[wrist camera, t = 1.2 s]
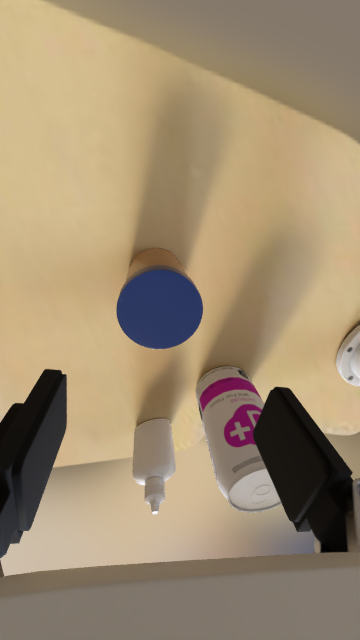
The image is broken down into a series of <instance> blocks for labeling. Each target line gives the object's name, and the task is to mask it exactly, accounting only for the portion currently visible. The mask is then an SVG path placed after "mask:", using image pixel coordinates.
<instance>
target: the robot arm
mask: <svg viewBox="0 0 360 640" xmlns="http://www.w3.org/2000/svg"><path fill="white" fill-rule="evenodd" d="M336 365H337V370H338V372H339V374H340V375H341V377H342V378H343V379H345V380H346V381H347V382H348V383H350V384H352V385H355V386H360V325H358V326H357V327H356V328H355V329H354V330H353V331H352V332H351V333H350V334H349V335H348V336H347V337H346V339H345V340H344V341H343V343H342V345H341V347H340V349H339V351H338V354H337V360H336ZM66 425H67V377H66V374H62V372H61V370H50V369H45V370H44V371H43V373H42V375H41V376H40V378H39V379H38V381H37V383H36V384H35V386H34V388H33V389H32V391H31V393H30V394H29V396H28V398H27V399H26V401H25V402H24V404H23V403H15V404H13V405H12V406H11V408H10V409H9V410H8V412H7V413H6V415H5V416H4V418H3V419H2V421H1V422H0V558H1V557H3V556H4V555H5V554H6V553H7V550H8V548H9V545H10V544H15V543H19V542H20V539H21V536H22V534H23V531H29V530H30V528H31V526H32V523H33V521H34V518H35V515H36V512H37V509H38V507H39V504H40V501H41V498H42V495H43V493H44V490H45V487H46V484H47V481H48V478H49V476H50V473H51V470H52V467H53V465H54V462H55V459H56V456H57V453H58V451H59V448H60V445H61V442H62V439H63V437H64V434H65V430H66ZM253 439H254V441H255V444H256V446H257V448H258V451H259V453H260V455H261V457H262V460H263V462H264V464H265V466H266V469H267V471H268V473H269V476H270V478H271V480H272V482H273V485H274V487H275V489H276V492H277V494H278V496H279V498H280V501H281V503H282V505H283V507H284V510H285V512H286V514H287V516H288V518H289V520H290V521H292V522H293V523H294V526H295V528H296V530H297V532H303V531H311V529H312V531H313V533H314V535H315V546H314V553H312V554H293V555H274V556H256V557H240V558H223V559H206V560H189V561H173V562H157V563H143V564H128V565H112V566H97V567H85V568H74V569H61V570H50V571H39V572H31V573H24V574H17V575H10V576H5V577H4V574H3V570H2V566H1V562H0V640H360V478H358V479H355V480H354V481H353V479H352V478H351V477H350V476H351V474H352V471H351V470H350V468H349V467H348V466H347V465H346V463H345V462H344V461H343V459H342V458H341V457H340V455H339V454H338V452H337V451H336V450H335V448H334V447H333V446H332V444H331V443H330V442H329V440H328V439H327V438H326V436H325V435H324V434H323V432H322V431H321V430H320V428H319V427H318V426H317V424H316V423H315V422H314V420H313V419H312V418H311V416H310V415H309V414H308V412H307V411H306V410H305V408H304V407H303V406H302V404H301V403H300V402H299V400H298V399H297V398H296V396H295V395H294V394H293V392H292V391H291V390H290V389H289V388H285V387H275V388H274V389H273V390H271V391H270V393H269V395H268V398H267V400H266V402H265V405H264V407H263V409H262V412H261V414H260V416H259V418H258V421H257V423H256V425H255V428H254V430H253Z"/></svg>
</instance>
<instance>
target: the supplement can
mask: <svg viewBox="0 0 360 640" xmlns="http://www.w3.org/2000/svg"><path fill="white" fill-rule="evenodd" d="M196 399H197V403H198V407H199V411H200V415H201V419H202V423H203V427H204V431H205V436H206V439H207V443H208V447H209V452H210V456H211V460H212V464H213V468H214V473H215V476H216V480H217V485H218V487H219V489H220V490H221V492H222V494H223V495H224V496H225V497H226V498H227V499H228V501H229V503H230V505H231V506H232V507H233V508H235V509H237V510H238V511H243V512H248V513H251V512H252V513H253V512H262V511H266V510H270V509H273V508H275V507H277V506H279V505H282V503H281V501H280V498H279V496H278V494H277V492H276V489H275V487H274V485H273V482H272V480H271V478H270V476H269V473H268V471H267V469H266V466H265V464H264V462H263V460H262V457H261V455H260V453H259V451H258V448H257V446H256V444H255V441H254V439H253V430H254V428H255V425H256V423H257V421H258V418H259V416H260V414H261V412H262V409H263V407H264V405H265V404H264V402H263V401H262V399H261V397H260V395H259V394H258V392H257V390H256V388H255V387H254V385H253V383H252V381H251V380H250V378H249V376H248V375H247V374H246V373H245V372H244V371H243V370H242V369H239V368H236V367H232V366H223V367H219V368H215V369H213V370H211V371H209V372H208V373H206V374H205V375H204V376H203V377H202V378H201V379H200V380H199V382H198V384H197V387H196Z"/></svg>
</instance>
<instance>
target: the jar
mask: <svg viewBox="0 0 360 640" xmlns="http://www.w3.org/2000/svg"><path fill="white" fill-rule="evenodd" d="M154 265H164V266H170V267H173V268H176V269H178V270H180V271H182V272H183V273H185V274H186V275H187V273H186V271H185V270H184V268H183V266H182V264H181V262H180V260H179V259H178V258H177V257H176V256H175V255H174V254H173V253H171V252H170V251H168V250H165V249H161V248H151V249H147V250H145V251H142V252H141V253H139V254H138V255H137V256H136V257H135V258H134V259H133V261H132V263H131V265H130V267H129V271H128V274H127V278H126V281H127V280H128V278H129V277H130V276H132V275H133V274H134V273H135V272H137V271H139V270H141V269H143V268H146V267H149V266H154ZM187 276H188V275H187Z"/></svg>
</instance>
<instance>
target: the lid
mask: <svg viewBox="0 0 360 640" xmlns="http://www.w3.org/2000/svg"><path fill="white" fill-rule="evenodd" d="M202 314H203V304H202V299H201V296H200V294H199V292H198V290H197V288H196V286H195V284H194V283H193V281H192V280H191V279H190V278H189V277H188V276H187V275H186V274H185V273H183V272H182V271H180V270H178V269H176V268H173V267H170V266H164V265H154V266H149V267H146V268H143V269H141V270H139V271H137V272H135V273H134V274H133V275H132V276H130V277H129V278H128V280H127V281H126V282H125V284H124V285H123V287H122V289H121V292H120V295H119V298H118V302H117V318H118V322H119V324H120V326H121V328H122V330H123V331H124V333H125V334H126V335H127V336H128V337H129V338H130V339H131V340H133V341H134V342H135V343H137V344H139V345H141V346H144V347H147V348H152V349H166V348H171V347H174V346H177V345H179V344H181V343H183V342H185V341H186V340H187V339H189V338H190V337H191V336H192V335H193V334H194V332H195V331H196V330H197V328H198V326H199V324H200V322H201V319H202Z"/></svg>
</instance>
